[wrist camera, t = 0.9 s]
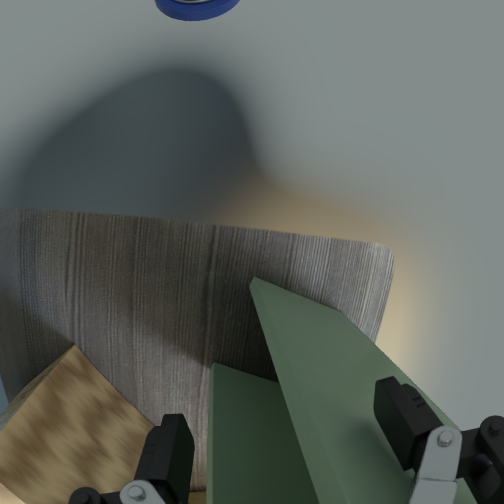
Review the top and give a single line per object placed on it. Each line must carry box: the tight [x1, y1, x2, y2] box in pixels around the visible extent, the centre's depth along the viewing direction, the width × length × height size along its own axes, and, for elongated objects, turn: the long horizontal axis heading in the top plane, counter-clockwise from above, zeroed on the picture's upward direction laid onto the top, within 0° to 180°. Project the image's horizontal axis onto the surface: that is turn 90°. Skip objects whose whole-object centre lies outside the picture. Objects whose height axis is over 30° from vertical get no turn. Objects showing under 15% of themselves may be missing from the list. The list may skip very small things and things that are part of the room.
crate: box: [0, 345, 155, 504], centre depth 22 cm, size 16×14×22 cm
